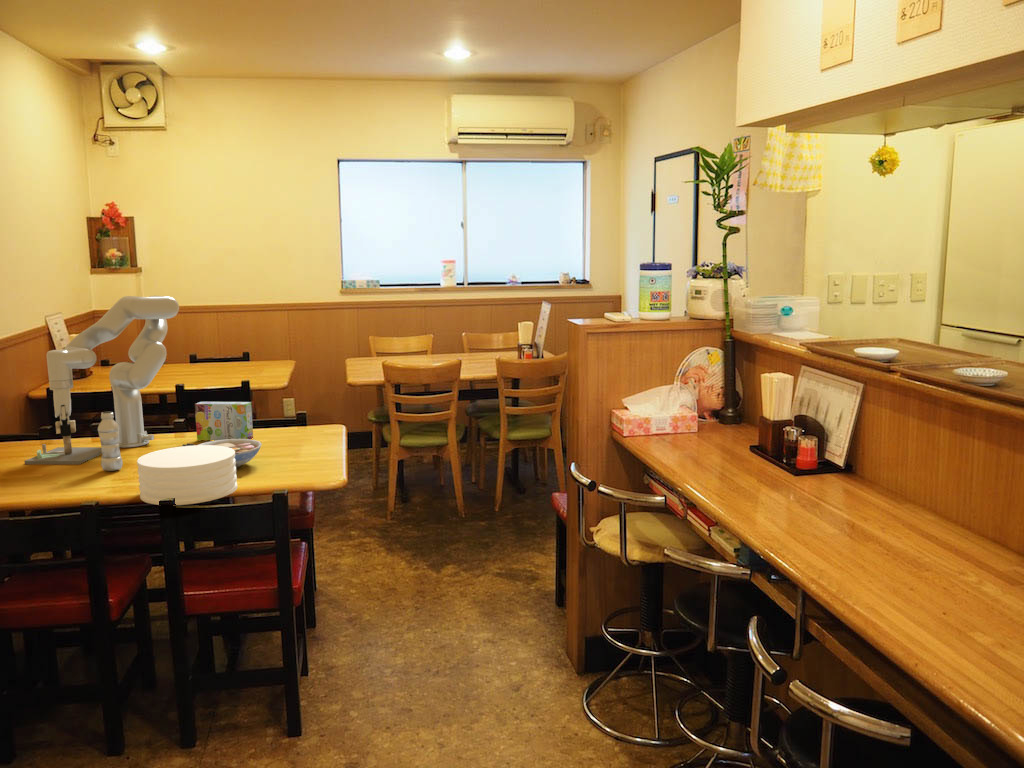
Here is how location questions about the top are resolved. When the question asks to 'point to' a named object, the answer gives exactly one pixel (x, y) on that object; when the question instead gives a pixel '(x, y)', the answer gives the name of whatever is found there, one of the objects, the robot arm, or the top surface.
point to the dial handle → (65, 439)
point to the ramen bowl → (238, 448)
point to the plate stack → (187, 474)
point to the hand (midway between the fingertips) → (66, 434)
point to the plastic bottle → (109, 443)
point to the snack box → (223, 420)
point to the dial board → (66, 456)
